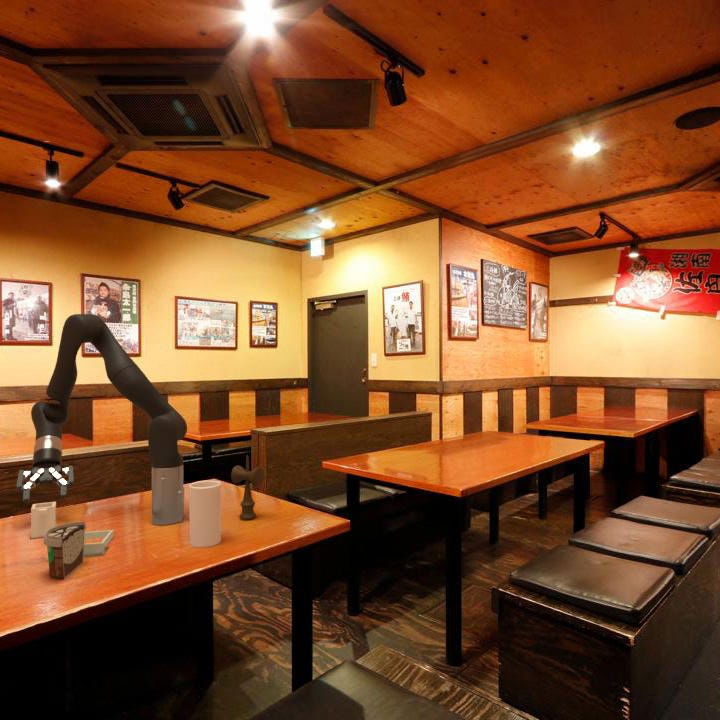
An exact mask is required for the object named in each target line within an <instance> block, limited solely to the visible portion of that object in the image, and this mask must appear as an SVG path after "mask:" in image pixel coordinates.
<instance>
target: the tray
mask: <svg viewBox="0 0 720 720" xmlns="http://www.w3.org/2000/svg"><path fill="white" fill-rule="evenodd" d="M113 537H115V531H114V529H112V530H111V529H107V530H96V531H95V530H94V531H85V533H84V540H93V539H102V540H101V542H87V543H84V555H83V558H89V557H101V556H104V555H105V554H106V552H107V551H108V550H109V549H110V546H107V545H108V544H109V543H110V542H111V540H112V539H113Z"/></svg>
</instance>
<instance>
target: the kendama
mask: <svg viewBox="0 0 720 720" xmlns="http://www.w3.org/2000/svg"><path fill="white" fill-rule="evenodd" d="M245 459H246V460H245V468H244V467H243V466H241V465H235V466H233V468H232V469H231V473H230V478H231V481H232V483H234V484H236V483H240V482H242V481H244V482H245V483H244V493H243V498H242V500H241V502H240V506H241V513H240V514H239V515H238V517H239V519H240V520H243V521H244V520H248V521H249V520H253V519H255V518H256V517H257V514H256V512H255V510H254V507H255V505H256V502H255V501H254V499H253V496H252V489H251V484H252V485H253V486H255V487H261V486H262V484H263V483H264V480H265V469H264V467H262V466H258V467H256V468H254V469H253V470H250V457H249V455H248V454H247V455H246V458H245Z"/></svg>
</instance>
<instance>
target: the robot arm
mask: <svg viewBox="0 0 720 720" xmlns="http://www.w3.org/2000/svg"><path fill="white" fill-rule="evenodd" d="M87 343H88V344H91V345H92V346H93V347H94V348H95V349H96V350H97V351H98V352H99V354H100V355H101V357H102V359H103V363H104V367H105V368H104V369H105V372H106V376H107V379H108V381H110V383H111V384H112V385H113V387H114V388H115V389H116V390H117V392H118V393H119V394H120V395H121V396H122V397H124V398H125V399H126V400H128V401H129V402H131V403H132V404H134V405H136V406H137V407H139V408H140V409H141V410H143V411H144V412H145V413H146V414H147V415H148V416H149V418H150V419H151V421H150V423H149V425H148V428H147V429H148V430H147V444H148V445H147V448H148V456H149V459H150V462H151V523H152V524H153V525H157V526H166V525H167V526H168V525H172V524H177V523H182V522H183V521H184V518H185V487H184V456H183V455H182V454H180V453H179V452H180V451H179V449H178V448H179V447H178V441H181V440H182V439H184V438H185V437H186V435H187V434H188V425H187V422H186V420H185V418H184V417H183V416H182V414H180V413H179V412H178V411H177V410H176V409H175V408H174V407H173V406H172V405H171V404H170V403H169V402H168V401H167V400H166V398H164V397H163V396H162V394H161V393H160V392H159V391H158V389H157V388H156V387H155V385H154V384H153V383H152V382H151V381H150V380H149V378H148V377H147V375H146V374H145V372H143V371H142V370H141V368H140V367H139V366H138V365H137V364H136V362H135V360H133V359H132V358H131V356H130V355H129V354H128V353H127V351H126V350H125V349H124V347H123V346H121V344H120V342H118V340H117V339H116V337H115V335H114V334H113V332H112V331H111V329H110V328H109V326H108V324H107V323H106V321H105V320H104V319H102V317H100V316H99V315H97V314H93V313H80V314H79V313H76V314H75V313H74V314H71V315H69V316H68V317H67V318H66V319H65V321H64V324H63V327H62V332H61V336H60V343H59V346H58V353H57V357H56V358H57V359H56V362H55V366H54V370H53V373H52V375H51V378H50V379H49V382H48V386H47V387H46V390H45V391H46V392H45V394H46V396H47V397H48V398H50V399H52V400H54V401H56V402H50V401H46V400H39V401H37V402H35V403H34V405H32V407H31V409H30V411H31V412H30V416H31V420H32V423H33V426H34V429H35V443H34V446H33V455H32V456H33V457H32V465H31V466H32V468H31V470H29V471H28V470H26V471H25V470H24V469H20V470H18V471H19V472H18V477H17V481H16V491H17V492H18V493H20V492H22V493H23V494H22V499H23V502H24V503H25V504H29V503H30V496H31V492H30V491H32V490H33V489H35V488H36V486H38V485H45V484H53V483H55V484H56V485H57V486H60V500H61V501H62V500H63V501H64V498H66V497H67V489H68V488H69V487H73V486H74V483H75V482H74V466H72V465H69V466H68V467H64V468H63V467H62V462H63V461H62V460H63V458H62V456H63V445H62V444H63V443H62V439H63V437H62V435H63V430H62V427H61V426H60V425H63V424H65V423H66V422H67V420H68V419H69V415H70V413H69V412H70V411H69V410H70V408H69V407H70V399H71V395H72V392H73V390H74V387H75V385H76V383H77V378H78V369H77V366H78V365H77V356H78V354H79V353H78V352H79V350H80V348H81V347H82V345H83V344H87ZM57 402H58V403H57ZM63 474H65V475H66V476H68V480H65V478H63V476H62V475H63ZM29 476H30V479H29V480H28V481H27V482H26V484H24V482H25V481H24V480H26V479H27V478H28V477H29Z"/></svg>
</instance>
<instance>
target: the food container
mask: <svg viewBox="0 0 720 720" xmlns="http://www.w3.org/2000/svg"><path fill="white" fill-rule="evenodd" d="M85 530H87V525H86V521H73V522H69V523H64V524H60V525H56V527H54V528H51V529H50V530H48V531H47V533H46V535H45V538H43V544H44V546H46V549H47V559H48V569H49V570H48V571H49V577H50V578H52V579H53V580H66V578H68V577H69V576H70V575H72V573H74V572H75V571H76V570H77V569H78V568H79V567H81V566H82V565H83V564H84V557H83V555H84V544H85V539H84V533H85V532H86V531H85Z"/></svg>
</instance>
